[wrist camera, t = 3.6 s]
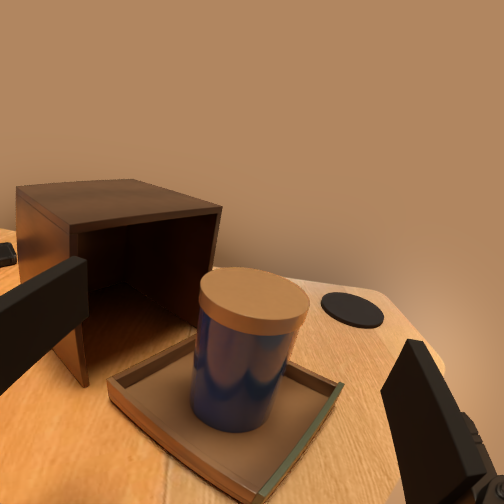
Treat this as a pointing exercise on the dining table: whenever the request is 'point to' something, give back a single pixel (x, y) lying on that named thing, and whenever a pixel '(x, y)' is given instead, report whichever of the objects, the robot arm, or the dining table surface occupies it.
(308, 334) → the dining table surface
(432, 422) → the robot arm
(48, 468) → the dining table surface
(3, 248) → the phone
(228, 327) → the jar
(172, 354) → the drawer
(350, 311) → the coaster
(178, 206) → the cabinet
